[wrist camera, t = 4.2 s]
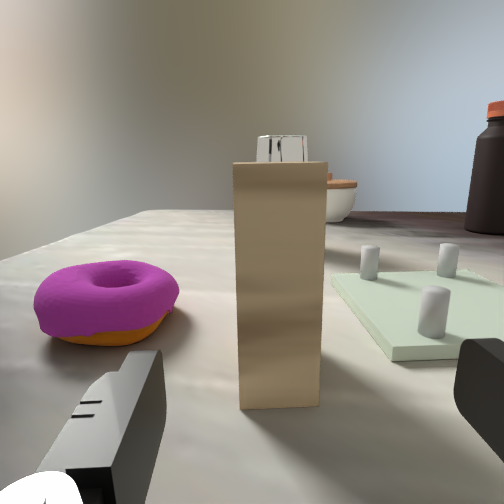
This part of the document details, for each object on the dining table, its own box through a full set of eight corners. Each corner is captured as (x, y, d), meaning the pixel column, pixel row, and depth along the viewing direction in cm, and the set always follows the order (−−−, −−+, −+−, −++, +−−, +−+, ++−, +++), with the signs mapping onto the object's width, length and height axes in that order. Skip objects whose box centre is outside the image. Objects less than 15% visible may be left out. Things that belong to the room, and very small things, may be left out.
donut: (142, 365, 22) (134, 297, 21) (2, 352, 23) (-13, 289, 22) (196, 301, 31) (193, 252, 30) (94, 295, 33) (87, 249, 32)
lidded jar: (342, 215, 77) (344, 171, 75) (364, 223, 67) (367, 173, 64) (295, 216, 75) (296, 172, 73) (310, 225, 65) (311, 174, 63)
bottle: (456, 226, 62) (472, 106, 57) (496, 227, 61) (517, 104, 56) (476, 234, 55) (497, 99, 50) (522, 235, 55) (548, 97, 50)
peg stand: (609, 352, 22) (625, 293, 21) (391, 361, 21) (397, 300, 20) (466, 279, 35) (472, 240, 34) (330, 283, 35) (332, 244, 34)
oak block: (318, 406, 18) (328, 162, 15) (239, 409, 18) (232, 163, 14) (295, 338, 24) (298, 161, 21) (238, 340, 24) (233, 162, 21)
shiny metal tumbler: (284, 238, 55) (285, 138, 51) (315, 246, 50) (319, 135, 46) (248, 244, 51) (245, 137, 47) (277, 254, 46) (278, 134, 42)
